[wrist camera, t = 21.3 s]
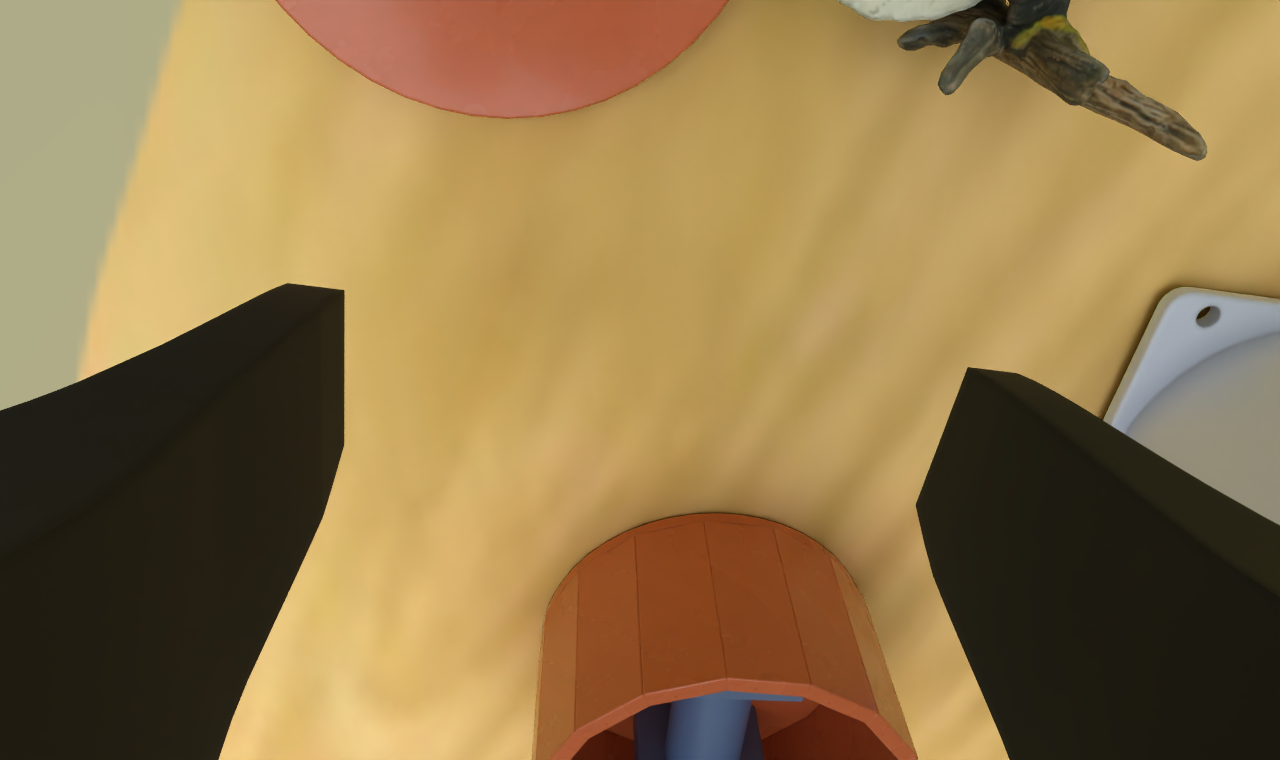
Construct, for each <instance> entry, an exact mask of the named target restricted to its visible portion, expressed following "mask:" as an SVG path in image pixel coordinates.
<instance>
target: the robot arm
mask: <svg viewBox="0 0 1280 760" xmlns="http://www.w3.org/2000/svg"><path fill="white" fill-rule="evenodd" d="M1209 306H1211V307H1210V311H1209V312H1208V313H1207V314H1206V316H1204V317H1202V318H1200V319H1196V318H1197V315H1198V314H1199V312H1200V311H1201V310H1202V309H1204V308H1206V307H1209ZM343 447H344V290H338V289H330V288H322V287H314V286H305V285H297V284H289V283H287V284H284V285H282V286H279V287H276V288H274V289H272V290H269V291H267V292H265V293H263V294H261V295H259V296H257V297H255V298H253V299H251V300H249V301H247V302H245V303H243V304H241V305H239V306H237V307H235V308H233V309H231V310H230V311H228V312H226V313H224V314H222V315H220V316H218V317H216V318H214V319H212V320H210V321H208V322H206V323H204V324H202V325H200V326H198V327H196V328H194V329H192V330H190V331H188V332H186V333H184V334H182V335H180V336H178V337H176V338H174V339H172V340H170V341H168V342H166V343H164V344H162V345H160V346H158V347H156V348H153V349H151V350H149V351H147V352H145V353H142V354H140V355H138V356H136V357H133V358H131V359H129V360H127V361H124V362H122V363H120V364H118V365H115V366H113V367H111V368H109V369H106V370H104V371H102V372H100V373H97V374H95V375H93V376H91V377H88V378H86V379H84V380H82V381H79V382H77V383H74V384H72V385H69V386H67V387H64V388H62V389H60V390H57V391H54V392H52V393H49V394H46V395H44V396H41V397H38V398H36V399H33V400H30V401H28V402H24V403H21V404H18V405H16V406H13V407H10V408H7V409H4V410H1V411H0V760H218V759H219V756H220V753H221V750H222V747H223V744H224V741H225V738H226V735H227V732H228V729H229V726H230V723H231V720H232V718H233V715H234V713H235V710H236V708H237V705H238V703H239V701H240V698H241V696H242V693H243V691H244V688H245V686H246V683H247V681H248V679H249V676H250V674H251V672H252V670H253V668H254V666H255V663H256V661H257V659H258V657H259V655H260V653H261V651H262V648H263V646H264V644H265V642H266V640H267V638H268V635H269V633H270V631H271V629H272V627H273V625H274V622H275V620H276V618H277V616H278V614H279V612H280V610H281V607H282V605H283V603H284V601H285V599H286V597H287V594H288V592H289V590H290V588H291V586H292V584H293V582H294V579H295V577H296V575H297V573H298V571H299V569H300V566H301V564H302V562H303V560H304V558H305V555H306V553H307V551H308V549H309V547H310V544H311V542H312V540H313V538H314V536H315V533H316V531H317V529H318V527H319V524H320V522H321V520H322V518H323V515H324V511H325V508H326V505H327V502H328V498H329V495H330V492H331V489H332V485H333V482H334V479H335V475H336V472H337V468H338V464H339V461H340V457H341V454H342V450H343ZM916 508H917V513H918V517H919V522H920V526H921V531H922V535H923V539H924V544H925V548H926V551H927V555H928V559H929V562H930V566H931V570H932V573H933V577H934V579H935V582H936V584H937V587H938V589H939V592H940V594H941V597H942V599H943V602H944V604H945V607H946V609H947V611H948V614H949V616H950V619H951V621H952V623H953V626H954V628H955V631H956V633H957V635H958V638H959V640H960V642H961V645H962V647H963V649H964V652H965V654H966V656H967V659H968V661H969V663H970V666H971V668H972V670H973V673H974V675H975V677H976V680H977V682H978V684H979V687H980V689H981V691H982V694H983V696H984V698H985V701H986V703H987V705H988V708H989V710H990V712H991V715H992V717H993V719H994V722H995V724H996V726H997V729H998V731H999V734H1000V736H1001V738H1002V741H1003V743H1004V746H1005V749H1006V751H1007V754H1008V757H1009V759H1010V760H1280V299H1276V298H1268V297H1261V296H1254V295H1246V294H1239V293H1232V292H1225V291H1217V290H1210V289H1203V288H1195V287H1179V288H1176V289H1174V290H1171V291H1170V292H1169V293H1167V294H1166V295H1165V296H1163V298H1162V299H1161V301H1160V302H1159V303H1158V305H1157V307H1156V309H1155V312H1154V314H1153V316H1152V318H1151V320H1150V322H1149V324H1148V326H1147V328H1146V330H1145V333H1144V335H1143V337H1142V339H1141V341H1140V343H1139V345H1138V347H1137V349H1136V352H1135V354H1134V356H1133V358H1132V360H1131V362H1130V364H1129V366H1128V368H1127V370H1126V373H1125V375H1124V377H1123V379H1122V381H1121V383H1120V385H1119V387H1118V389H1117V391H1116V394H1115V396H1114V398H1113V400H1112V402H1111V404H1110V406H1109V408H1108V410H1107V413H1106V415H1105V417H1104V419H1103V420H1101V419H1100V418H1098V417H1096V416H1095V415H1093V414H1092V413H1090V412H1088V411H1087V410H1085V409H1084V408H1082V407H1080V406H1079V405H1077V404H1075V403H1074V402H1072V401H1070V400H1068V399H1067V398H1065V397H1063V396H1061V395H1060V394H1058V393H1056V392H1055V391H1053V390H1051V389H1049V388H1047V387H1045V386H1043V385H1042V384H1040V383H1038V382H1036V381H1034V380H1031V379H1029V378H1027V377H1025V376H1022V375H1020V374H1017V373H1011V372H1002V371H994V370H986V369H978V368H970V367H968V368H967V371H966V373H965V376H964V379H963V381H962V384H961V387H960V389H959V392H958V395H957V397H956V400H955V402H954V405H953V408H952V410H951V413H950V416H949V418H948V421H947V424H946V426H945V429H944V432H943V434H942V437H941V439H940V442H939V445H938V447H937V450H936V453H935V455H934V458H933V461H932V463H931V466H930V469H929V471H928V474H927V476H926V479H925V482H924V484H923V487H922V490H921V492H920V495H919V498H918V500H917V503H916Z"/></svg>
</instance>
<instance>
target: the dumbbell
mask: <svg viewBox="0 0 1280 760" xmlns="http://www.w3.org/2000/svg"><path fill="white" fill-rule="evenodd" d="M803 698H804V697H797V696H784V695H772V694H760V693H748V692H735V691H724V692H719V693H713V694H708V695H703V696H698V697H693V698H688V699H683V700H678V701H673V702H671V703H662V704H657V705H652V706H649V707H647V708H645V709H644V710H642V711H640V712H638V713H636V714H634V721H633V738H634V760H765V759H764V753H763V748H762V742H761V736H760V731H759V725H758V719H757V714H756V709H755V707H754V706H751V705H752V700H766V701H794V702H802V701H803Z"/></svg>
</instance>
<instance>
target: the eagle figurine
mask: <svg viewBox="0 0 1280 760" xmlns="http://www.w3.org/2000/svg"><path fill="white" fill-rule="evenodd" d="M838 1H839V2H840V3H841V4H843V5H845V6H847V7H849V8H851V9H853V10H854V11H855V12H856V13H857V14H859V15H861V16H863V17H864V18H866V19H870V20H874V21H885V20H891V21H897V22H908V21H916V20H929V21H930V22H932V23H929V24H925V25H919V26H917V27H914V28H912V29H910V30H908V31H907V32H905V33H904V34H903V35H902V36H901V37H899V39H898V40H897V43H898V45H899V47H901V48H902V49H904V50H908V51H915V50H918V49H920V48H923V47H925V46H928V45H934V46H938V47H948V46H950V45H952V44H958V43H961V45H960V46H959V48H958V50H957V52H956V53H955V54H954V56H953V57H952V58H951V59H950V61H949V62H948V64H947V65H946V67H945V68H944V70H943V71H942V72H941V75H940V78H939V81H938V86H939V88H940V90H941V91H942V92H943V93H944V94H945V95H950V94H952V93H954V91H955V90H956V89H957V88H958V87H959V86H960V85H961V83H962V82H963V80H964V79H965V78H966V76H967V75H968V73H969V72H970V71H971V70H972V69H973V68H974V67H975V66H976V65H977V64H978V63H979V62H981V61H982V60H983V59H984V58H985V57H989V56H994V57H995V58H997V59H999V60H1000V61H1002V62H1004V63H1006V64H1008V65H1010V66H1011V67H1013V68H1015V69H1017V70H1018V71H1020V72H1022V73H1024V74H1025V75H1027V76H1029V77H1030V78H1031V79H1033V80H1034V81H1035V82H1037V83H1038V84H1039V85H1041V86H1043V87H1045V88H1046V89H1048V90H1050V91H1052V92H1053V93H1055V94H1056V95H1058V96H1059V97H1060V98H1061V99H1062V100H1063V101H1065V102H1066V103H1068V104H1069V105H1080V106H1083V107H1085V108H1087V109H1089V110H1091V111H1093V112H1095V113H1098V114H1100V115H1103V116H1105V117H1107V118H1110V119H1112V120H1115V121H1117V122H1119V123H1122V124H1124V125H1126V126H1128V127H1131V128H1133V129H1134V130H1136V131H1138V132H1140V133H1142V134H1144V135H1146V136H1148V137H1149V138H1151V139H1152V140H1154V141H1156V142H1157V143H1159V144H1161V145H1163V146H1165V147H1167V148H1169V149H1171V150H1173V151H1175V152H1177V153H1179V154H1181V155H1184V156H1186V157H1188V158H1191V159H1193V160H1196V161H1199V160H1202V159H1203V158H1205V157H1206V154H1207V146H1206V143H1205V141H1204V140H1203V138H1202V137H1201V135H1200V133H1199V132H1197V131H1196V130H1195V129H1194V128H1193V127H1191V126H1190V124H1189V123H1188V122H1187V121H1186V120H1185V119H1184V118H1183V117H1182V116H1181V115H1180V114H1179V113H1177V112H1176V111H1174V110H1172V109H1171V108H1169V107H1167V106H1165V105H1163V104H1161V103H1159V102H1157V101H1155V100H1154V99H1152V98H1149V97H1146V96H1145V95H1143V94H1142V93H1140V92H1139V91H1138V90H1137V89H1136V88H1134V87H1133V86H1132V85H1130V84H1129V83H1128V82H1127V81H1125V80H1120V79H1116V78H1114V77H1112V76H1110V75H1109V73H1110V71H1109V69H1108V68H1107V67H1106V66H1105V65H1104V64H1103V63H1101V62H1100V61H1098V60H1096V59H1095V58H1093V57H1091V56H1090V53H1089V50H1088V48H1087V46H1086V44H1085V43H1084V41H1083V40H1082V38H1081V36H1080V35H1079V33H1078V31H1077V30H1076V29H1075V28H1073V27H1072V26H1071V25H1070V23H1069V22H1068V20H1067V10H1068V7H1069V4H1070V0H1008V1H1009V4H1010V5H1009V6H1007V5H1006V1H1005V0H838Z"/></svg>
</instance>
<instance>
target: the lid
mask: <svg viewBox="0 0 1280 760" xmlns="http://www.w3.org/2000/svg"><path fill="white" fill-rule="evenodd" d="M276 1H277V2H278V4H279V5H280V6H281V7H282V8H283V9H284V10H285V11H286V12H287V14H288V15H289V16H290V17H291V18H292V19H293V20H294V21H295V22H296V23H297V24H298V25H299V26H300V27H301V28H302V29H303V30H304V31H305V32H306V33H307V34H308V35H309V36H310V37H311V38H313V39H314V40H315V41H316V42H318V43H319V44H320V45H321V46H322V47H324V48H325V49H326V50H327V51H329V52H330V53H331V54H332V55H333V56H335V57H336V58H337V59H338V60H340V61H341V62H343V63H344V64H346V65H347V66H349V67H351V68H352V69H354V70H355V71H357V72H358V73H360V74H361V75H363V76H365V77H366V78H368V79H369V80H371V81H373V82H375V83H377V84H379V85H381V86H383V87H385V88H387V89H389V90H391V91H393V92H395V93H397V94H399V95H401V96H403V97H406V98H409V99H412V100H415V101H418V102H420V103H423V104H426V105H429V106H432V107H435V108H438V109H442V110H447V111H452V112H456V113H461V114H466V115H471V116H480V117H493V118H505V119H509V118H529V117H543V116H548V115H554V114H559V113H564V112H570V111H575V110H578V109H581V108H584V107H587V106H590V105H593V104H596V103H599V102H602V101H605V100H608V99H610V98H612V97H614V96H616V95H618V94H620V93H622V92H624V91H626V90H628V89H630V88H633V87H635V86H637V85H638V84H640V83H641V82H643V81H644V80H646V79H647V78H649V77H651V76H652V75H654V74H655V73H657V72H658V71H660V70H661V69H663V68H664V67H666V66H667V65H668V64H669V63H671V62H672V61H673V60H674V59H675V58H676V57H678V56H679V55H680V54H681V53H682V52H683V51H685V50H686V49H687V48H688V47H689V46H690V45H692V44H693V43H694V42H695V41H696V39H697V38H698V37H699V36H700V35H701V34H702V33H703V32H704V31H705V30H706V28H707V27H708V26H709V25H710V24H711V23H712V22H713V21H714V20H715V18H716V17H717V16H718V15H719V14H720V12H721V11H722V9H723V8H724V6H725V5H726V4H727V2H728V1H729V0H276Z"/></svg>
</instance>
